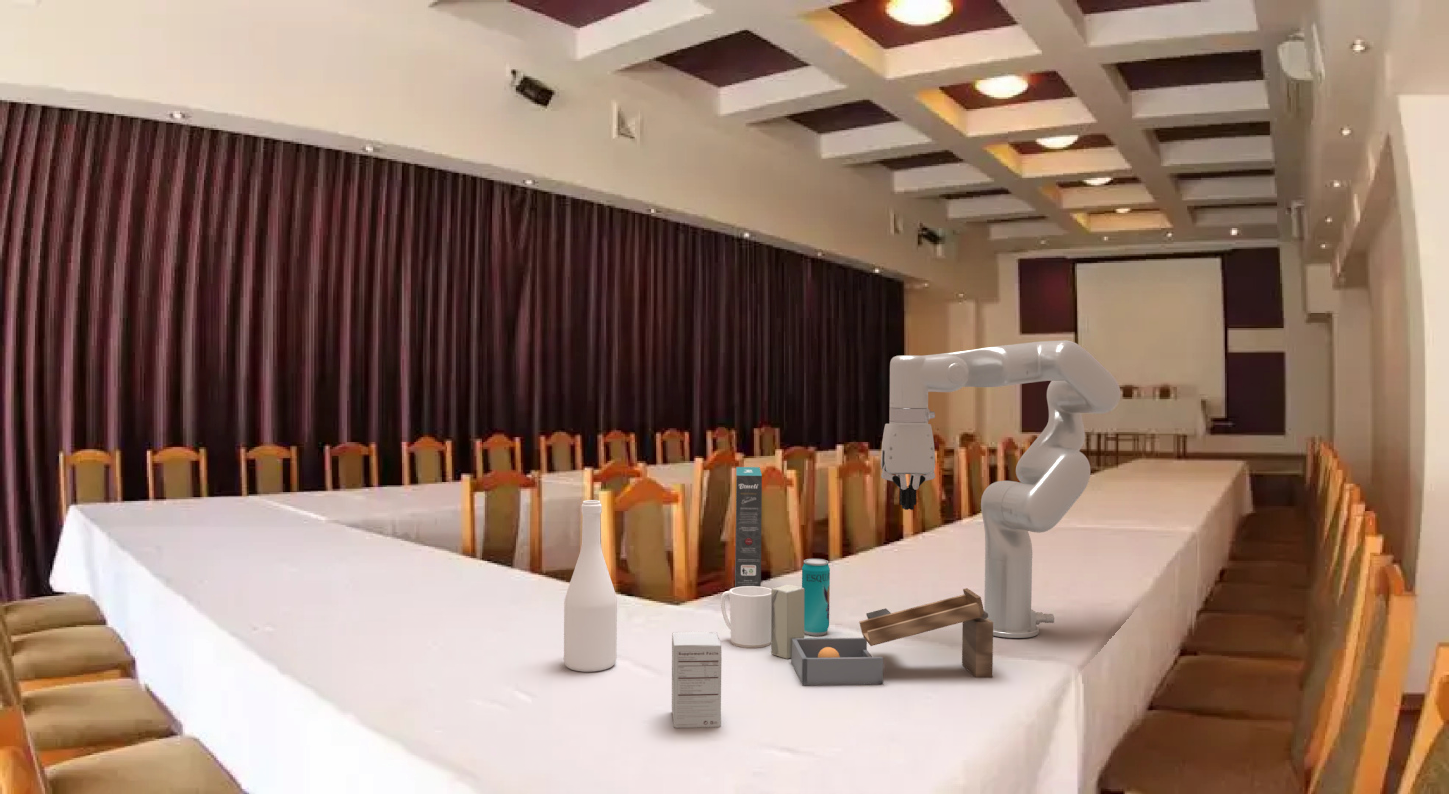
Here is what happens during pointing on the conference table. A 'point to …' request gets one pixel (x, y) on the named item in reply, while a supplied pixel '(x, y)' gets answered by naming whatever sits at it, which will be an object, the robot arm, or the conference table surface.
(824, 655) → the ball
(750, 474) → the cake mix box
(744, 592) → the mug
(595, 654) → the wine bottle
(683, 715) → the supplement box
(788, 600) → the box
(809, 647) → the tray
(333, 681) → the conference table surface
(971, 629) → the post
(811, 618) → the beverage can
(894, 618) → the lever
